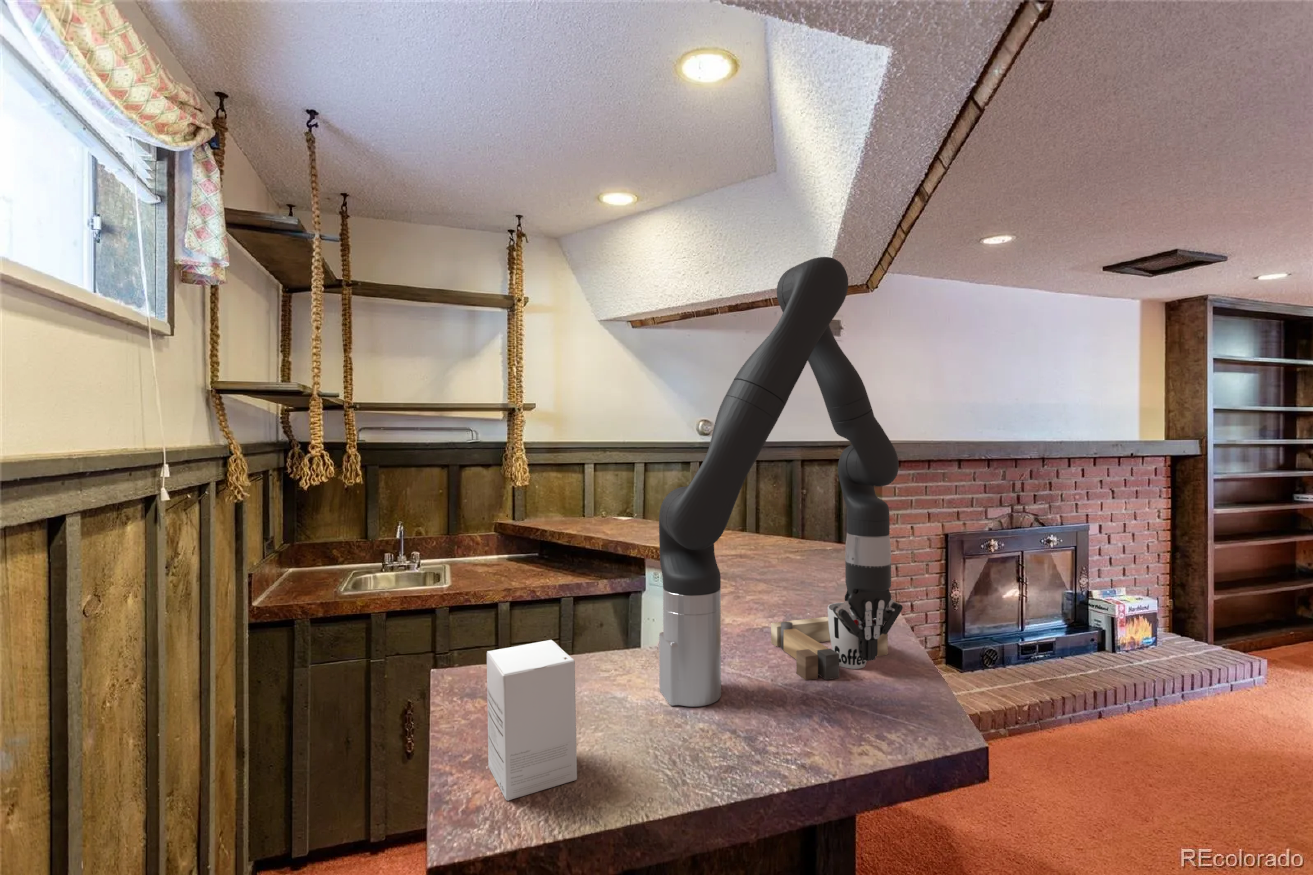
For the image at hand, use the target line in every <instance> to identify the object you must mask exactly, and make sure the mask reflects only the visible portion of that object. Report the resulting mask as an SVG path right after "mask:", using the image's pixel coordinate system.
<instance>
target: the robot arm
mask: <svg viewBox="0 0 1313 875" xmlns="http://www.w3.org/2000/svg"><path fill="white" fill-rule="evenodd" d="M848 289H849V277H848V273H847V270H846V268H845V267H844V265H843V263H841V262H840V260H837V259H836V258H834V257H830V256H820V257H813V258H811V259H808V260H806V261H804V262H801V263H799V264H797V265H795V266H793V267H790V268H789V269H787V270H786V271H785V272H783V274H782V275H781V276H780V278H779V279H778V282H777V286H776V298H777V302H778V305H779V307H780V309H781V311H782V314H781V316H780V318H779V320H778V322H777V323H776V325H775V326H774V328H773V329H772V331H771V332H770V333H769V334H768V335H767V337H766V338H765V339H764V340H763V341H762V343H761V344H760V345H759V346H757V348H756V349H755V350H754V351H753V352H752V353H751V355H750V356H749V357H748V358H747V359H746V361H745V362H744V363H743V364H742V366H741V367H740V369H739V371H738V372H737V373H736V375H735V377H734V378H733V380H732V382H731V383H730V386H729V388H728V390H727V392H726V393H725V395H724V397H723V399H722V401H721V404H720V406H719V409H718V410H717V411H718V412H717V415H716V418H715V420H714V425H713V430H712V434H711V437H710V443H709V446H708V450H707V452H706V454H705V456H704V459H703V461H702V463H701V465H700V466H699V468H698V470H697V471H696V472H695V475H694V476H693V479H692V480H691V482H690V483H689V484H688V486H687V485H686V486H680V487H677V488H674V489H672V491H670V492H669V493H668V494H667V495H666V496H665V497H664V499H663V501H662V503H661V505H660V509H659V516H658V530H659V531H658V533H659V536H658V538H659V542H658V543H659V563H660V571H661V573H662V617H663V618H662V626H663V627H662V630H663V631H661V632H659V637H658V640H659V641H658V642H659V645H658V648H659V650H658V651H659V653H658V654H659V657H658V658H659V659H658V660H659V662H658V663H659V666H658V667H659V668H658V669H659V673H658V676H659V691H660V693H661V694H662V695H663V697H664V698H665V700H666V701H667V703H669V705H670V706H684V707H703V706H708V705H712V704H714V703H717V701H718V700H720V698H721V696H722V653H721V652H722V650H721V648H722V645H721V644H722V643H721V642H722V641H721V640H722V638H721V637H722V636H721V634H722V633H721V630H722V629H721V628H722V627H721V622H722V621H721V620H722V617H721V616H722V614H721V612H722V610H721V608H722V607H721V605H722V604H721V601H722V600H721V594H722V593H721V591H722V590H721V588H722V587H721V585H722V584H721V583H722V582H721V581H722V579H721V571H720V568H719V566H718V563H717V559H716V553H715V543H716V542H718V541H719V539H720V538H721V536H722V535H723V534H724V532H725V530H726V527H727V525H728V523H729V520H730V518H731V515H732V512H733V510H734V507H735V504H736V502H737V500H738V497H739V494H740V492H741V490H742V487H743V485H744V483H745V480H746V478H747V476H748V475H749V472H750V471H751V469H752V467H753V465H754V464H755V462H756V460H757V458H758V456H759V455H760V453H761V451H762V450H763V448H764V445H765V444H766V442H767V440H768V438H769V436H770V435H771V432H772V431H773V429H774V428H775V425H776V424H777V422H778V420H779V418H780V416H781V415H782V413H783V410H784V408H785V406H786V404H787V402H788V401H789V398H790V396H791V394H792V392H793V390H794V388H795V386H796V385H797V383H798V380H799V378H800V377H801V375H802V373H803V370H804V369H805V367H806V365H807V363H808V364H809V366H810V369H811V371H812V373H813V375H814V377H815V381H816V382H817V385H818V387H819V390H820V393H821V395H822V398H823V402H824V405H825V408H826V410H827V414H828V418H829V420H830V422H831V425H832V428H833V430H834V432H835V433H836V434H837V436H839V437H841V438H843V439H846V440H847V441H849V442H850V445H848V446H847V447H846V448H844V449H843V451H842V452H841V453H840V456H839V460H838V465H837V472H838V473H837V474H838V479H839V480H838V481H839V484H840V488H841V492H842V496H843V501H844V504H845V507H846V538H845V546H844V548H845V549H844V550H845V552H844V553H845V554H844V555H845V556H844V557H845V559H844V560H845V564H844V565H845V566H844V567H845V570H844V571H845V578H844V580H845V581H844V582H845V586H846V592H845V595H844V603H843V604H842V605H841V606H840V607H837V606H835V607H834V608H833V612H834V613H835V615H836V616H837V617H838V619H839V620H840V621H841V623H842V624H843V625H844V627H845V628H846V629H847V631H848V632H849V633H851V634H853V635H854V636H856V637H858V639H859V655H860V656H861V657H862V658H863V659H864V660H866V661H867V662H870V661H875V660H876V657H878V656H877V653H878V648H877V647H878V638H879V636H880V635H882V634H888V633H889V631H890V630H891V628H892V627H893V625H894V624H895V622H896V621H897V619H898V617H899V615H900V614H901V612H902V611H903V604H901V603H899V602H896V601H895V600H893V598H892V594H891V591H890V589H891V587H892V545H891V539H890V538H891V537H890V536H891V535H890V530H891V529H890V526H891V525H890V507H889V505H888V503H887V502H885V501H884V500H882V499H880V498H879V497H878V496H877V493H876V490H875V487H886V486H889V485H891V484H892V483H893V482H894V481H895V480H896V478H897V476H898V473H899V456H898V455H897V451H896V449H895V447H894V445H893V443H892V441H891V440H890V438H889V436H888V435H887V433H886V431H885V430H884V428H883V427H882V426H881V424H880V423H879V421H878V420H877V418H876V417H875V415H874V411H873V407H872V404H871V400H870V398H869V394H868V392H867V389H866V386H865V384H864V381H863V378H861V376H860V374H859V372H858V371H857V369H856V368H855V366H854V364H852V362H851V361H850V359H849V358H848V356H847V355H846V354H845V353H844V351H843V350H842V348H841V347H840V345H839V344H838V342H837V339H836V338H835V336H834V334H833V331H832V329H831V326H830V324H831V323H832V321H833V320H834V318H835V317H836V315H837V314H838V312H839V310H840V309H841V307H842V306H843V305H844V302H845V300H846V297H847V294H848ZM850 609H851V611H852V612H853V614H854V615H855V616H856V617H858V618H856V623H855V622H854V621H853V619H852V618H851V617H850V616H851V615H852V614H851V611H850Z"/></svg>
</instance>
